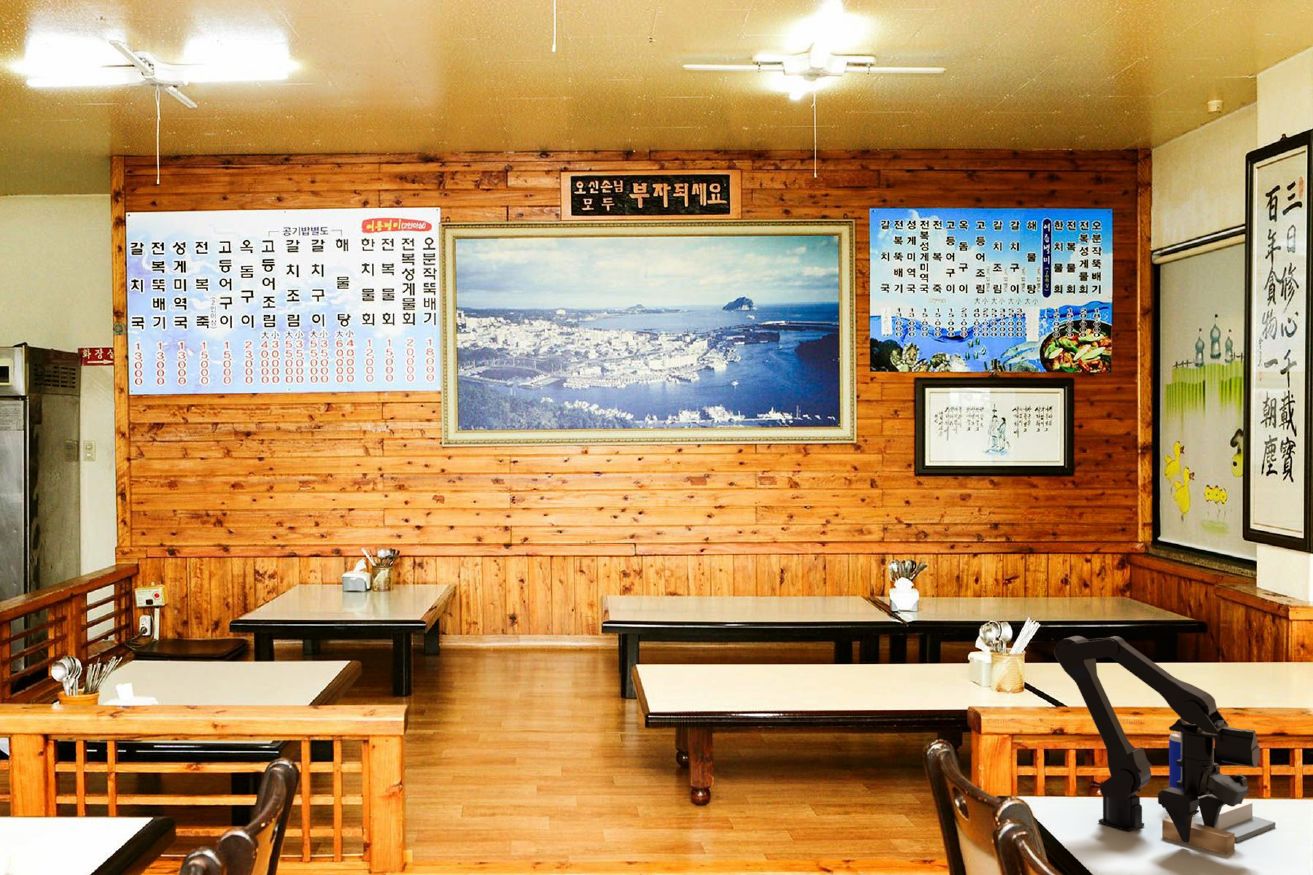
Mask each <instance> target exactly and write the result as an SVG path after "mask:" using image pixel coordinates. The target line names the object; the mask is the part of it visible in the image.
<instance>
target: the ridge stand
mask: <svg viewBox="0 0 1313 875" xmlns="http://www.w3.org/2000/svg"><path fill="white" fill-rule="evenodd" d="M1192 822H1194V823H1197V824H1201V825H1204V823H1203V819H1202V816H1200V817H1197V818H1194V819H1192ZM1275 826H1276V822H1275V821H1272V820H1268V819H1265V818H1262V817H1261V818H1260V817H1259V816H1258V817H1257V816H1254V815H1253V802H1249V801H1246V800H1243V801H1242V804H1237V805H1235V806H1234V807H1231V806H1228V805H1224V806H1223V807H1222V808H1221V811H1220V814H1219V817H1218V820H1217V823H1216V826H1215V828H1216V829H1220V830H1224V831H1228V832H1232V833H1235V843H1239V842H1242V841H1244V840H1246V839H1248V838H1251V836H1252V837H1255V836H1256V834H1257V835H1259V834H1261V832H1262V833H1264V832H1263V831H1265V832H1267V831H1269V830H1268V829H1270V828H1272V829H1274V828H1273V827H1275ZM1275 828H1276V827H1275ZM1270 830H1271V829H1270Z"/></svg>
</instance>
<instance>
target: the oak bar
mask: <svg viewBox="0 0 1313 875" xmlns="http://www.w3.org/2000/svg"><path fill="white" fill-rule="evenodd" d="M1161 822H1162V823H1161V824H1162V827H1161V829H1162V830H1161V831H1162V832H1161V833H1162V834H1161V836H1162V837H1163V838H1167V839H1171V840H1174V841H1176V842H1177V841H1178V842H1181V843H1185V844H1188V845H1193V846H1196V847H1199V848H1204V849H1206V850H1210V851H1214V852H1217V853H1221V854H1224V855H1229V854H1230V853H1232V852H1234V851H1236V850H1235V848H1236V845H1235V844H1236V842H1235V833H1232V832H1228V831H1224V830H1220V829H1216V828H1213V827H1209V826H1205V825H1201V824H1197V823H1194V822H1192V823H1191V832H1190V839H1189V842H1188V843H1186V842H1183V841H1182V840H1181V837H1180V835H1179V833H1178V831H1177V829H1176V827H1175V825H1174V823H1173V821H1172V819H1171V818H1170V816H1168V817H1165V818H1164V819H1162V820H1161Z"/></svg>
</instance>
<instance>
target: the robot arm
mask: <svg viewBox="0 0 1313 875" xmlns="http://www.w3.org/2000/svg"><path fill="white" fill-rule="evenodd" d="M1053 654H1054V656H1055V657H1054V658H1056V661H1057V662H1058V664H1060V666H1061V668H1062V670H1063V671H1064V672H1065V673H1066V674H1067V675H1068V676H1069V677H1070V678H1071V679H1072V680H1073V681H1074V682H1075V684H1076V686H1077V689H1078V690H1079V692H1080V694H1081V697H1082V699H1083V701H1084V703H1085V705H1086V707H1087V710H1088V712H1089V714H1090V716H1091V719H1092V721H1093V723H1094V725H1095V727H1096V729H1097V732H1098V733H1099V736H1100V738H1101V739H1102V742H1103V744H1104V747H1105V749H1106V757H1107V758H1106V760H1107V767H1108V771H1109V775H1110V777H1108V778H1107V779H1106V780H1104V781H1103V782H1102V783H1101V784H1099V789H1100V792H1101V796H1102V818H1101V819H1098V823H1099V824H1102V825H1106V826H1109V827H1111V828H1116V829H1119V830H1122V831H1125V832H1130V831H1133V830H1137V829H1139V828H1142V827H1145V823H1144V822H1143V806H1142V805H1141V797H1140V796H1139V795H1136V794H1138V793H1140V791H1141V790H1142V788H1143V787H1145V786H1146V785H1147V784H1148V783H1149V782H1150V779H1152V778H1151V777H1152V770H1151V768H1152V767H1153V764H1151V762H1149V760H1148V758H1147V756H1146V752H1145V749H1144V748H1143V747H1142V746H1140V747H1138V748H1136V747H1135V746H1134V745H1133V744H1131V742H1130V741H1129V739H1128V737H1127V736H1126V733H1125V732H1124V728H1123V727H1122V725H1121V723H1120V721H1119V720H1120V719H1119V718H1118V716H1117V714H1116V712H1115V710H1114V707H1113V706H1112V703H1111V702H1110V699H1109V698H1108V696H1107V693H1106V691H1105V688H1104V687H1103V684H1102V683H1101V680H1100V678H1099V676H1098V669H1097V659H1101V658H1110V659H1111V660H1113V661H1114V662H1116V664H1117V663H1118V665H1120V666H1121V667H1122V668H1124V669H1125V670H1127V671H1128V672H1129V673H1131V674H1132V675H1134V677H1137V678H1138V679H1139V680H1140V681H1141V682H1143V683H1145V684H1146V685H1147V686H1148V687H1150V688H1151V689H1153V691H1155V692H1157V693H1158V694H1159V695H1160V696H1161V697H1162V698H1163V699H1164V700H1165V702H1166V703H1167V705H1168V707H1169V708H1170V709H1172V711H1174V713H1175V714H1177V715H1178V717H1179V718H1177V720H1176V721H1175V723H1173V724H1172V725H1170V726H1168V730H1169V731H1171V732H1175V733H1181V759H1180V760H1176V766H1180V767H1181V780H1180V781H1176V785H1177V787H1180V788H1183V790H1181V789H1177V788H1173V787H1170V788H1169V787H1167V788H1164V789H1161V790H1160V791H1159V792H1158V793H1157V803H1158V805H1161V807H1162V808H1163V809H1165V810H1166V812H1167V814H1168V817H1170V818H1171V819H1172V821H1173V823H1174V825H1175V827H1176V829H1177V831H1178V833H1179V835H1180V837H1181V840H1182V841H1183V842H1182V843H1184V842H1186V843H1185V844H1188V842H1189V839H1190V832H1191V823H1192V820H1193V817H1194V816H1195V815H1197V814H1198V813H1200V815H1201V817H1202V819H1203V823H1204V825H1205V826H1209V827H1213V828H1215V826H1216V823H1217V820H1218V817H1219V814H1220V811H1221V808H1222V807H1224V806H1227V805H1228V806H1231V807H1234V806H1235V805H1237V804H1242V801H1244V798H1245V796H1247V795H1249V794H1250V792H1249V791H1250V790H1249V788H1250V787H1249V786H1248V778H1247V777H1246V776H1244V775H1242V774H1240V773H1239V774H1236V775H1234V776H1232V777H1231V776H1230V775H1228V774H1227V775H1225V774H1223V773H1221V766H1220V765H1219V763H1217V762H1215V756H1216V757H1217V759H1220V761H1221V762H1222V763H1227V764H1233V765H1239V766H1244V767H1250V768H1255V769H1256V768H1257V767H1258V764H1259V760H1260V750H1261V749H1260V748H1261V747H1260V746H1259V741H1258V738H1257V735H1256V734H1257V733H1256V730H1255V729H1249V728H1248V729H1243V728H1235V727H1230V726H1229V723H1227V721H1226V719H1225V718H1224V717H1223V715H1222V714H1221V713H1220V712H1219V710H1218V708H1217V703H1216V699H1215V698H1214V696H1212V695H1211V694H1210V693H1209V692H1207V691H1205V690H1203V689H1201V688H1199V687H1198V686H1196V685H1193V684H1191V683H1188V682H1185V681H1183V680H1180V679H1179V678H1177V677H1175V676H1173V675H1171V674H1170V672H1168V671H1166V670H1164V668H1162V667H1160V666H1159V665H1158V664H1156V663H1155V662H1154V661H1152V660H1151V659H1150V658H1148V657H1147V656H1145V655H1144V654H1143V653H1141V652H1140V651H1138V649H1136V648H1134V647H1133V646H1131V645H1130V643H1128V642H1126V641H1125V639H1124V638H1122V637H1120V636H1119V635H1118V636H1116V635H1113V636H1110V637H1099V638H1086V637H1084V636H1080V635H1074V636H1070V637H1067V638H1063V639H1061V640H1059V641H1057V643H1056V644H1055V647H1054V649H1053ZM1214 754H1215V755H1214ZM1198 808H1199V809H1198Z"/></svg>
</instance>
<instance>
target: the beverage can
mask: <svg viewBox="0 0 1313 875" xmlns="http://www.w3.org/2000/svg"><path fill="white" fill-rule="evenodd" d="M1168 748H1169V749H1168V761H1169V762H1168V763H1169V766H1168V769H1169V772H1168V773H1169V774H1168V776H1169V777H1168V779H1169V780H1168V782H1169V783H1168V784H1169V785H1168V786H1169V787H1168V788H1170V787H1173V788H1177V789H1181V790H1183V788H1180V787H1177V785H1176V781H1180V780H1181V767H1180V766H1176V760H1180V759H1181V732H1172V733H1170V735H1169V738H1168Z"/></svg>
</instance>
